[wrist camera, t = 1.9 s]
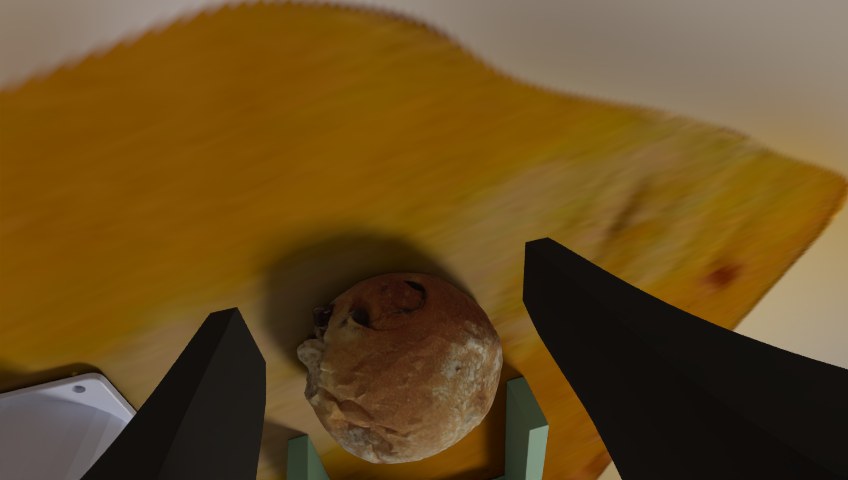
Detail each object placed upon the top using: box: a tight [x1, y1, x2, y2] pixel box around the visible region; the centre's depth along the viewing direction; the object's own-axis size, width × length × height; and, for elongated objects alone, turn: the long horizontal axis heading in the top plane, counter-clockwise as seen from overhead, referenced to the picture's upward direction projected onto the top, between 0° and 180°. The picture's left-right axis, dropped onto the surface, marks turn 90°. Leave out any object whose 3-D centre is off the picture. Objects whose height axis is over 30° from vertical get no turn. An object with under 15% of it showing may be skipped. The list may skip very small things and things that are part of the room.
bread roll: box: [297, 272, 503, 464], centre depth 21 cm, size 10×10×8 cm
